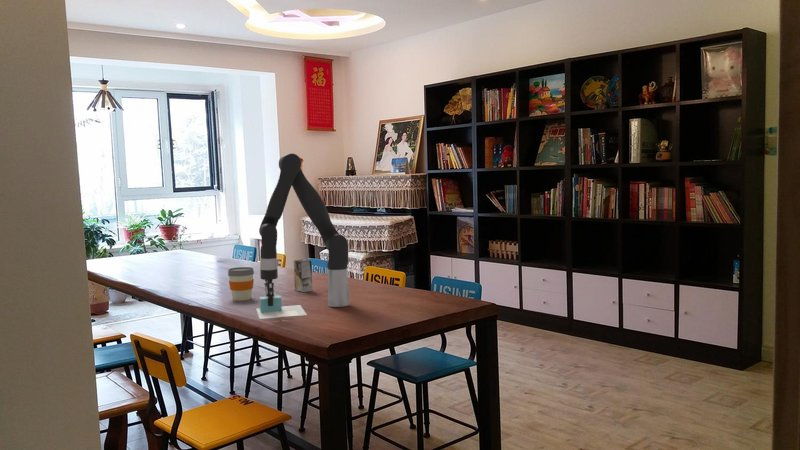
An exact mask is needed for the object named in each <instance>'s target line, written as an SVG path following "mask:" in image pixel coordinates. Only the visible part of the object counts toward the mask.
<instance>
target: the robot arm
mask: <svg viewBox="0 0 800 450" xmlns="http://www.w3.org/2000/svg"><path fill="white" fill-rule="evenodd" d="M301 167H302V160H301V158H300V156H299V155H298V154H296V153H291V152H290V153H286V154H284V155H282V156H281V157H280V158H279V160H278V168H279V170H280V172H279V177H278V181H277V184H276V186H275V188H274V190H273V192H272V194H271V196H270V199H269V201H268V204H267V207H266V211H265V215H264V217H263V219H262V221H261V223H260V226H259V230H258V232H259V235H260V237H261V247H260V250H259V251H260V262H259V263H260V264H259V265H260V266H259V268H260V269H259V270H260V271H259V272H260V273H259V275H260V279H261V280H263V281H264V284H263V285H264V291H265V294H266V296H267V297H268V306H273V297H274V296H275V295H274V293H275V282H273V280H277V279H278V278H279V277H278V276H279V275H278V274H279V273H278V255H277V244H278V243H277V242H278V229H277V226H278V223H279V220H280V219H281V217H282V215H283V213H284V209H285V206H286V203H287V201H288V197H289V194H290V190H291V188H292V189H293V191H294V193H295V195H296V197H297V199H298V201H299V202H300V205H301V206H302V208H303V209H304V211H305V213H306V215H307V216H308V218H309V220H310V221H311V222H312V224H313V225H314V226H315V228H316V229H317V231H318V233H319V235H320V237H321V239H322V242H323V243H324V246H325V248H326V250H327V251H328V261H327V263H326V266H327V267H326V269H327V270H326V271H327V299H328V300H327V301H328V302H327V303H328V307H332V308H343V307H348V306H349V307H350V286H349V281H348V275H349V274H348V264H349V242H348V239H347V238H346V237H345V236H344V235H342V234H340V233H339V232H338V229H336V227H335V225H334V224H333V222H332V219H331V218H330V214H329V211H328V209H327V206H326V204H325V202H324V201H323V199H322V197H321V195H320V193H318V191H317V189H316V188H315V187H314V186H313V184H311V183H310V182H309V180H308V179H307V177H306V176H305V174H304V171H303V169H302V168H301Z"/></svg>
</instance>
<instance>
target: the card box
mask: <svg viewBox="0 0 800 450" xmlns="http://www.w3.org/2000/svg"><path fill="white" fill-rule="evenodd" d="M259 308H260V311H261V313H265V312H277V311H282V297H281V295H279V294H278V295H274V297H273V306H268V297H267V296H259Z"/></svg>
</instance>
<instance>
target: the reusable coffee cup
mask: <svg viewBox="0 0 800 450" xmlns="http://www.w3.org/2000/svg"><path fill="white" fill-rule="evenodd" d="M254 274H255V272H254V268H253V267H249V266H242V267H241V266H239V267H232V268H228V271H227V275H228V278H229V280H228V284H229V290H230V291H231V296H232V300H233V301H248V300H250V299H252V295H253V289H254V281H255V279H254Z"/></svg>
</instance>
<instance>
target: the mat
mask: <svg viewBox="0 0 800 450" xmlns="http://www.w3.org/2000/svg"><path fill="white" fill-rule="evenodd" d="M255 309H256V312H257V316H258V319H259V320H263V319H264V320H265V319H277V318H287V317H299V316H300V317H301V316H307V315H308V314H307V312H305V309H304V308H303V307H302V305H301V304H295V305H294V304H293V305H284V306H282V311H277V312H265V313H261V311H260V307H258V308H255Z"/></svg>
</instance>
